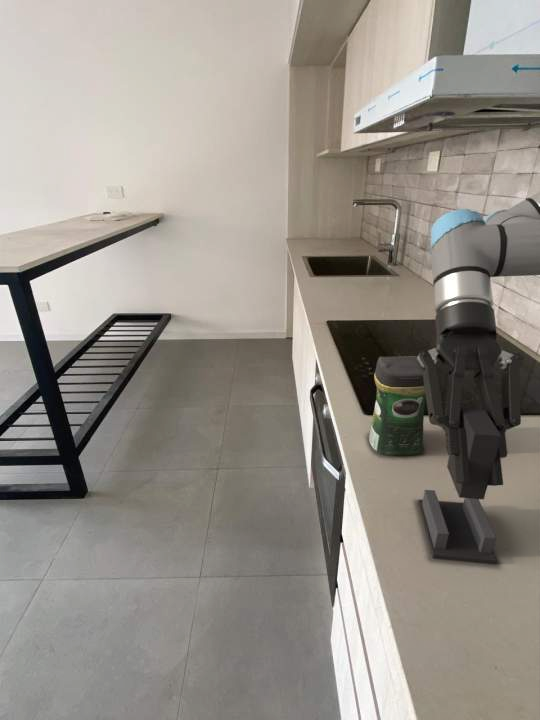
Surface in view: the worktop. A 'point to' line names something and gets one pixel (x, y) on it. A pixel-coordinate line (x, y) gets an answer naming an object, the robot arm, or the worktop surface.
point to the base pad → (457, 529)
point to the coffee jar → (398, 407)
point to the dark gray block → (476, 452)
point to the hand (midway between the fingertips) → (479, 483)
